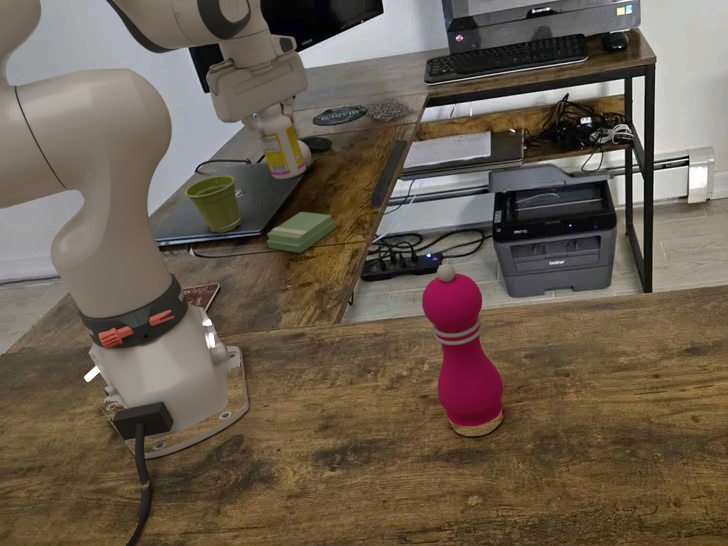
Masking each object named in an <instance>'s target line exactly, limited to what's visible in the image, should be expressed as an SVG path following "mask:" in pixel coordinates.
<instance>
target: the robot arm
mask: <svg viewBox="0 0 728 546" xmlns="http://www.w3.org/2000/svg"><path fill="white" fill-rule="evenodd" d="M105 1H106V2H107V3H108V4H109V6H110V7H111V8H112V9H113V11H114V12H115V13H116V14H117V15H118V17H119V18H120V20H121V21H122V23H123V24H124V26H125V28H126V29H127V31H128V32H129V34H130V36H132V38H133V39H134V40H135V41H136V42H137V43H138V44H139V45H140V46H141V47H143V48H144V49H146V50H147V51H149V52H151V53H154V54H160V55H161V54H166V53H169V52H173V51H174V52H175V51H177V50H180V49H187V48H193V47H194V48H195V47H203V46H206V45H213V44H218V46H219V49H220V52H221V54H222V57H223V61H221V62H219V63H214V64H212V65H210V66H209V70H208V71H207V72H206V76H205V79H206V83H207V85H208V87H209V93H210V97H211V103H212V106H213V109H214V112H215V115H216V118H217V119H218V120H219V121H220V122H222V123H224V124H235V123H237V122H241V124H242V125H244V127H246V129H248V130H249V132H250V134H251V136H252V139H253V140H254V141H259V140H261V139H262V138H264V137H265V134H264V130H263V128H258V127H257V126H256V125H257V123H255V121H256V117H255V115H256V113H257V112H259V111H262V110H264V109H266V108H268V107H270V106H272V105H275V104H277V103H280V105H283V113H282V115H284V116H287V117H288V118H289V119H290V120H291V122H292V125H293V124H294V123H296V118H295V116H294V109H295V108H294V107H295V100H294V97H295V96H296V95H298V94H301V93H303V92H305V91H307V90H308V86H309V80H308V79H309V78H308V75H307V71H306V68H305V66H304V62H303V60H302V57H301V55H300V54H299V53H298V52H297V51H296V50H297V46H298V45H297V42H296V41H297V40H296V39H295V37H294V36H286V35H278V34H271V31H270V28H269V25H268V23H267V21H266V20H265V18H264V16H263V13H262V8H261V0H105ZM41 17H42V5H41V0H0V210H2V209H8V208H11V207H15V206H18V205H22V204H24V203H28V202H29V203H30V202H32V201H36V200H39V199H42V198H46V197H49V196H52V195H56V194H59V193H63V192H66V191H77V192H78V193H80V194H81V196H82V198H83V204H82V206H81V207H80V209H79V210H78V211H77V212H76V213H75V214H74V215H73V216H72V217H71V218H70V219H69V220H68V221H66V223H65V224H63V226H62V227H61V228H60V229H59V230H58V231H57V233H56V234H55V236H54V238H53V240H52V242H51V246H50V253H49V254H50V260H51V264H52V266H53V267H54V269H55V270H56V273H57V274H58V276H59V278H60V279H61V281H62V282H63V284H64V286H65V287H66V290H68V292H69V294H70V296H71V297H72V299H73V300H74V302H75V304H76V305H77V307H78V311H77V313H78V316H79V318H80V320H81V324H82V325H83V327H84V329H85V331H86V333H88V334H89V336H90V338H91V340H92V342H93V343H92V345H91V347H90V350H89V351H88V355H89V357H90V358H91V360H92V362H93V363H94V365H95V367H93V368H92V369H91V370H90V371H89V372H88V373H87V374H86V375H85V376H84V379H85V381H86V382H90V381H92V379H93V378H95V377H96V375H97V374H99V373H100V375H101V377H102V379H103V380H104V381H105V383H106V385H107V386H106V387H104V393H105V394H106V397H105V398H104V399H103V400H104V403H105V401H106V400H107V401H109V400H110V402H111V401H113V403H111V404H109V405H108V406H107V407H106V410H110V409H113V408H115V407H116V406H117V405H118V403H119V404H123V406H124V408H126V409H123V410H118V411H116V413H115V415H114V417H113V419H112V422H111V421H110V419H109V418H108V417H107V415H106V414H105V413H104V411H103V410H102V408H101V407H100V409H101V410H102V411H101V412H102V413H103V414H104V416H105V417H106V418H107V420H108V421H109V423H110V424H111V426H112V427H113V428H114V430H115V431H116V432H117V434H118V435H119V436H120V438H121V439H122V441H123V442H124V443H125V444H126V446H127V447H128V448H129V450H130V451H131V453H132V454H133V455H134V459H135V467H136V470H137V475H138V477H139V481H140V485H141V484H142V485H144V484H145V483H147V481H148V480H149V477H150V474H149V471H148V467H147V463H146V460H149V459H154V458H159V457H162V456H166V455H169V454H172V453H175V452H178V451H180V450H183V449H185V448H188V447H190V446H193V445H195V444H197V443H199V442H201V441H203V440H206V439H208V438H209V437H212V436H214V435H215V434H217V433H220V432H221V431H223V430H224V429H226V428H227V427H229V426H231V425H232V424H234V423H235V422H236V421H238V420H239V419H240V418H241V417H242V416H244V414H246V412H248V410H249V407H250V405H249V396H248V395H249V394H248V388H247V380H246V379H247V378H246V374H245V364H244V357H243V356H244V355H243V352H242V350H241V349H240V347H239V346H236V345H226V344H225V343H223V342H221V340H220V338H219V336H218V335H217V334H218V330H217V327H216V325H215V324H214V323H212V321H211V319H210V318H209V316H208V315H207V312H206V310H205V308H204V307H201V306H198V305H196V304H195V305H194V304H192V303H190V302H189V301H188V298H187V296H186V294H185V291H184V287H183V286H182V284H181V283H180V282H179V280H178V279H177V277H176V276H175V275H174V274H173V273H172V272H170V271H169V269H168V266H167V264H166V262H165V259H164V256H163V255H162V253H161V250H160V248H159V245H158V242H157V240H156V237H155V235H154V231H153V229H152V226H151V222H150V217H149V209H148V208H149V207H148V199H149V192H150V186H151V184H152V179H153V177H154V175H155V172H156V169H157V168H158V166H159V164H160V162H161V161H162V160H163V159H164V157H165V156H166V154H167V153H168V150H169V148H170V145H171V141H172V136H173V124H172V118H171V114H170V111H169V108H168V105H167V104H166V101H165V100H164V98H163V96H162V95H161V94H160V92H159V91H158V89H157V88H156V87H155V86H154V85H153V84H152V83H151V82H150V81H149V80H148V79H146V78H145V77H144V76H142V75H141V74H139V73H138V72H136V71H134V70H132V69H130V68H123V67H122V68H96V69H95V68H94V69H81V70H77V71H73V72H69V73H64V74H61V75H56V76H53V77H49V78H45V79H40V80H36V81H32V82H28V83H24V84H19V85H11V84H9V80H8V76H7V67H8V63H9V60H10V58H11V57H12V55H13V54H14V53H15V52H16V51H17V50H18V49H20V47H22V46H23V45H24V44H25V43H26V42H27V41H28V40H29V39H30V38H31V37H32V36H33V34H34V33H35V32H36V30H37V28H38V26H39V25H40V22H41ZM231 352H232V353H231ZM240 357H241V359H240ZM240 362H241V365H242V373H243V382H244V390H245V399H246V403H245V405H244V406H243V407H242V408H241V409H240V410H239V411H238V412H237V413H236V414H234V415H233V416H232V417H230V416H231V414H232V412H231V411H225V412H222V413H221V414H220V415H219V417H218V418H219V419H226V418H228V417H230V418H229V419H227V420H226V421H224V422H223V423H221V424H219V425H218V426H216V427H214V428H212V429H210V430H208V431H206V432H204V433H202V434H200V435H198V436H196V437H194V438H192V439H189V440H187V441H185V442H182V443H180V444H177V445H174V446H172V447H169V448H166V449H162V450H159V451H155V452H150V453H144V443H145V437H147V438H148V439H157V438H161V437H164V436H167V435H170V434H173V433H176V432H178V431H181V430H183V429H186V428H188V427H190V426H192V425H194V424H196V423H198V422H200V421H202V420H204V419H206V418H208V417H210V416H212V415H214V414H215V413H217V412H218V411H221V410H222V409H223V408H225V407H226V405H227V404H228V396H227V386H226V380H227V372H229V373H231V368H235V369H236V366H237V367H240ZM234 387H238V385H235V386H234ZM237 396H239V395H237ZM103 400H102V401H101V403H102V402H103ZM114 401H117V402H114ZM113 424H114V425H113ZM131 439H135V452H134V451H133V450H132V449H131V448H130V446H129V445H128V444H127V442H126V440H131ZM165 445H166V441H165V440H161V441H158V442H156V443H155V444H154V445H153V447H152V449H154V450H158V449H161V448H162V447H164V446H165ZM140 489H141V490H140V504H139V507H138V511H137V514H136V516H135V518H134V520H133V522H134V521H135V519H136V518H137V517H139V520H138V525H137V528H136V530H135V532H134V534H133V536H132V537H131V539H130V540H129V542H128V543H127V544H126V546H132V545H133V544H134V542H135V541H136V539H137V538H138V535H139V534H140V531H141V530H142V527H143V525H144V523H145V521H146V519H147V516H148V514H149V510H150V507H151V499H152V482H151V481H150V484H149V486H148V488H147V489H146V490H145V491H142V488H140ZM126 536H127V534H126ZM126 536H125V537H126Z"/></svg>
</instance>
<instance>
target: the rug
mask: <svg viewBox="0 0 728 546" xmlns="http://www.w3.org/2000/svg"><path fill="white" fill-rule="evenodd" d="M385 105H386V107H385ZM357 108H358V109H360V110H361V111H362V112H365V113H366V114H369V116H370V117H371V116H372V117H373V118H375V119H376V120H377V121H380V122H384V121H386V122H388V121H390V120H392V119H394V117H399V116H404V115H407V114H411V113H414V112H415V110H414V109H413V108H411V107H409V106H408V105H405V104H402V103H400V102H399V101H398V100H395V99H393V98H388V97H386V98H382V99H378V100H376V101H370V102H368V103H366V104H363V105H358V106H357Z"/></svg>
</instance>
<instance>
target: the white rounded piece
mask: <svg viewBox="0 0 728 546" xmlns="http://www.w3.org/2000/svg"><path fill="white" fill-rule="evenodd" d="M297 140H298V144H299V147H300V150H301V153H302V156H303V159H304V162H305V165H306V166H309V167H310V165H311V164H312V151H311V150H310V148H309V145H307V144H306V143H305V142H303V141H302V140H299V139H297ZM307 170H308V168H306V169H305V171H307Z"/></svg>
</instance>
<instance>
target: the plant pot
mask: <svg viewBox="0 0 728 546" xmlns="http://www.w3.org/2000/svg"><path fill="white" fill-rule="evenodd" d="M235 183H236V179H235V177H234V176H232V175H229V174H228V175H226V174H224V175H223V174H222V175H215V176H211V177H210V176H209V177H207V178H204V179H201V180H199V181H196V182H194V183H192V184H190V185H189V186H188V187H187V188H186V189H185V191H184V194H185V196H186V197H188V198H189V199H190V201H191V202H192V203H193V204H194V206H195V207H196V208H197V210H198V212H199V213H200V215H201V217H202V218H203V220H204V221H205V223H206V225H207V227H208V228H209V227H210V228H216V229H210V228H209V230H210V231H211V233H218V234H223V233H227V232H232V231H233V230H235V229H236V227H237V226H241V224H242V218H241V219H240V220H239V221H238V222H237V223H236V224H234V225H232V226H230V227H227V228H223V229H217V228H222V227H226V226H228V225H230V224H232V223H234V222H236V221H237V220H238V219H239V218H240V217H241V213H240V209H239V205H238V201H237V195H236V192H235V191H236V187H235Z"/></svg>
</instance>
